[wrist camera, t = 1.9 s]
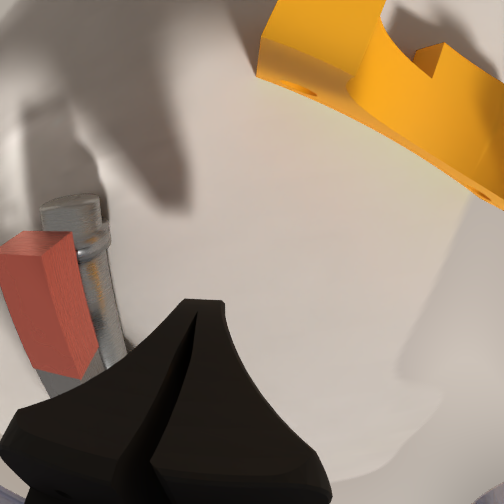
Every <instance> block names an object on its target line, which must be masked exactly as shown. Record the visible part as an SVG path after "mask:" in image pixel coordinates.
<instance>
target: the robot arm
mask: <svg viewBox="0 0 504 504" xmlns="http://www.w3.org/2000/svg"><path fill="white" fill-rule="evenodd" d="M0 456H1V458H2V460H3V461H4V462H5V463H6V464H7V465H8V466H9V467H10V468H11V469H12V470H13V471H14V472H15V473H16V474H17V475H18V476H19V477H20V478H21V479H22V480H23V481H24V482H25V483H26V484H27V485H29V486H30V489H29V492H28V495H27V497H26V499H25V498H23V497H21V496H19V495H17V494H15V493H13V492H12V491H10V490H8V489H6V488H4V487H2V486H1V485H0V504H329V503H330V502H331V499H332V497H333V496H332V490H331V486H330V483H329V480H328V477H327V474H326V472H325V470H324V467H323V465H322V463H321V461H320V459H319V457H318V455H317V453H316V451H315V450H313V449H312V448H311V447H310V446H309V445H308V444H307V443H305V442H304V441H303V440H302V439H301V438H300V437H299V436H298V435H297V434H296V433H295V432H294V431H293V430H292V429H291V428H290V427H289V426H288V425H287V424H286V423H285V422H284V421H283V420H282V419H281V418H280V417H279V415H278V414H277V413H276V412H275V411H274V409H273V408H272V407H271V406H270V404H269V403H268V402H267V401H266V399H265V398H264V397H263V395H262V394H261V393H260V391H259V390H258V388H257V387H256V385H255V384H254V382H253V381H252V379H251V377H250V376H249V374H248V372H247V371H246V369H245V367H244V365H243V363H242V361H241V359H240V357H239V355H238V353H237V351H236V348H235V346H234V344H233V341H232V338H231V335H230V332H229V329H228V326H227V322H226V318H225V303H224V302H223V301H222V300H201V299H184V300H182V301H181V302H180V303H179V305H178V306H177V307H176V308H175V309H174V310H173V311H172V312H171V313H170V314H169V316H168V317H167V318H166V319H165V320H164V321H163V322H162V323H161V324H160V325H159V326H158V327H157V328H156V329H155V330H154V331H153V332H152V333H151V334H150V335H149V336H148V337H147V338H146V339H145V340H143V341H142V342H141V343H140V344H139V345H138V346H137V347H136V348H134V349H133V350H132V351H131V352H130V353H129V354H127V355H126V356H125V357H124V358H122V359H121V360H119V361H118V362H117V363H115V364H114V365H112V366H111V367H110V368H108V369H107V370H105V371H103V372H102V373H100V374H98V375H97V376H95V377H93V378H92V379H90V380H88V381H86V382H85V383H83V384H81V385H79V386H77V387H75V388H73V389H71V390H69V391H67V392H65V393H62V394H60V395H58V396H56V397H53V398H51V399H48V400H45V401H42V402H40V403H37V404H34V405H31V406H28V407H25V408H21V409H18V410H17V412H16V413H15V415H14V417H13V419H12V420H11V422H10V424H9V426H8V428H7V429H6V431H5V433H4V435H3V437H2V439H1V441H0ZM472 504H504V482H503V483H501V484H499V485H497V486H495V487H494V488H492V489H490V490H489V491H487V492H486V493H484V494H483V495H481V496H480V497H479V498H478V499H477V500H476V501H474V503H472Z"/></svg>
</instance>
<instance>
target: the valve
mask: <svg viewBox="0 0 504 504" xmlns="http://www.w3.org/2000/svg"><path fill="white" fill-rule="evenodd" d="M40 214H41V220H42V226H43V229H42V230H41V231H72V234H73V240H74V246H75V251H76V256H77V262H78V266H79V271H80V276H81V280H82V285H83V289H84V293H85V297H86V301H87V305H88V309H89V313H90V317H91V320H92V324H93V327H94V331H95V334H96V338H97V341H98V344H99V347H98V350H99V354H100V357H101V360H102V363H103V365H104V368H105V370H107V369H108V368H110V367H111V366H112V365H114V364H115V363H117V362H118V361H119V360H121V359H122V358H124V357H125V356H126V355H127V350H126V346H125V342H124V338H123V334H122V330H121V326H120V322H119V317H118V313H117V308H116V303H115V299H114V294H113V289H112V283H111V278H110V272H109V267H108V261H107V254H106V249H107V248H108V247H109V246H110V244H111V235H110V227H109V221H108V220H107V219H105V218H103V217H101V209H100V199H99V196H97V195H94V194H78V195H70V196H65V197H61V198H58V199H54V200H52V201H49V202H47V203H45V204H43V205H42V206H41V207H40Z"/></svg>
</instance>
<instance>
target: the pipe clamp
mask: <svg viewBox="0 0 504 504" xmlns="http://www.w3.org/2000/svg"><path fill="white" fill-rule="evenodd" d="M385 2H386V0H278V1H277V3H276V5H275V7H274V9H273V12H272V14H271V16H270V18H269V20H268V22H267V24H266V26H265V29H264V31H263V33H262V35H261V40H260V48H259V57H258V65H257V73H256V77H258V78H261V79H263V80H266V81H269V82H271V83H274V84H276V85H279V86H282V87H284V88H287V89H289V90H291V91H294V92H296V93H299V94H301V95H303V96H306V97H308V98H310V99H312V100H315V101H317V102H319V103H321V104H324V105H326V106H328V107H330V108H332V109H334V110H336V111H338V112H340V113H342V114H345V115H347V116H349V117H351V118H353V119H355V120H356V121H358V122H360V123H362V124H364V125H366V126H368V127H370V128H372V129H374V130H375V131H377V132H379V133H381V134H383V135H384V136H386V137H388V138H390V139H392V140H393V141H395V142H397V143H398V144H400V145H402V146H404V147H405V148H407V149H409V150H410V151H412V152H413V153H415V154H417V155H418V156H420V157H421V158H423V159H425V160H426V161H428V162H429V163H431V164H432V165H434V166H435V167H437V168H438V169H440V170H441V171H443V172H444V173H446V174H447V175H449V176H450V177H452V178H453V179H455V180H456V181H457V182H459V183H460V184H462V185H463V186H464V187H466V188H467V189H469V190H470V191H471V192H472V193H473V194H475V195H476V196H477V197H479V198H480V199H482V200H484V201H486V202H488V203H490V204H492V205H494V206H496V207H498V208H499V209H502V210H503V211H504V83H502V82H501V81H499V80H497V79H496V78H494V77H492V76H491V75H489V74H488V73H486V72H485V71H483V70H482V69H480V68H479V67H477V66H476V65H474V64H473V63H471V62H470V61H468V60H467V59H466V58H464V57H463V56H462V55H460V54H459V53H457V52H456V51H455V50H454V49H452V48H451V47H450V46H449V45H447V44H446V43H445V42H443V43H440V44H436V45H433V46H429V47H426V48H422V49H419V50H417V51H416V54H415V56H414V59H413V62H412V61H410V60H409V59H408V58H407V57H406V56H405V55H404V54H403V53H402V52H401V51H400V49H399V48H398V47H397V46H396V45H395V44H394V42H393V41H392V40H391V38H390V37H389V35H388V34H387V32H386V30H385V29H384V27H383V24H382V21H381V18H380V14H381V12H382V9H383V7H384V4H385Z"/></svg>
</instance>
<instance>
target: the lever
mask: <svg viewBox="0 0 504 504" xmlns="http://www.w3.org/2000/svg"><path fill="white" fill-rule="evenodd" d="M0 286H1V289H2V292H3V295H4V298H5V301H6V304H7V307H8V309H9V312H10V315H11V317H12V320H13V322H14V325H15V328H16V330H17V332H18V335H19V337H20V340H21V342H22V344H23V347H24V349H25V351H26V353H27V355H28V358H29V360H30V362H31V364H32V366H33V368H35V369H36V371H37V373H38V375H39V377H40V379H41V381H42V383H43V385H44V387H45V389H46V390H47V392H48V394H49V396H50V398H53V397H56V396H58V395H60V394H62V393H65V392H67V391H69V390H71V389H73V388H75V387H77V386H79V385H81V384H83V383H85V382H86V381H88V380H90V379H92V378H93V377H95V376H97V375H98V374H100V373H102V372H103V371H105V368H104V365H103V363H102V360H101V357H100V354H99V350H98V347H99V344H98V341H97V338H96V334H95V331H94V327H93V324H92V320H91V317H90V313H89V309H88V305H87V301H86V297H85V293H84V289H83V285H82V280H81V276H80V271H79V266H78V262H77V256H76V251H75V246H74V240H73V234H72V231H22V232H21V233H19V234H18V235H16V236H15V237H13V238H12V239H11V240H9V241H8V242H6V243H5V244H3V245H2V246H0Z"/></svg>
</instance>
